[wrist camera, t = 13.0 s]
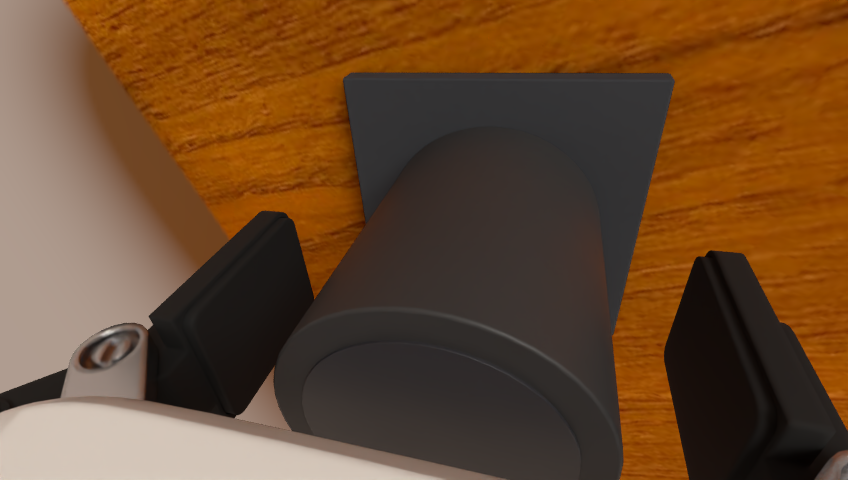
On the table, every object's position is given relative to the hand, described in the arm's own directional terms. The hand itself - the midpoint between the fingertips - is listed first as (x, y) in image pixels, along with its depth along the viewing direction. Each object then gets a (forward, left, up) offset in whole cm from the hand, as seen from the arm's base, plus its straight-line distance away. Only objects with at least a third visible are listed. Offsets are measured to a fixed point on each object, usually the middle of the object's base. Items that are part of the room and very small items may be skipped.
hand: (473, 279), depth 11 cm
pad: (0, 0, -3) cm, 3 cm away
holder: (0, 0, -3) cm, 3 cm away
